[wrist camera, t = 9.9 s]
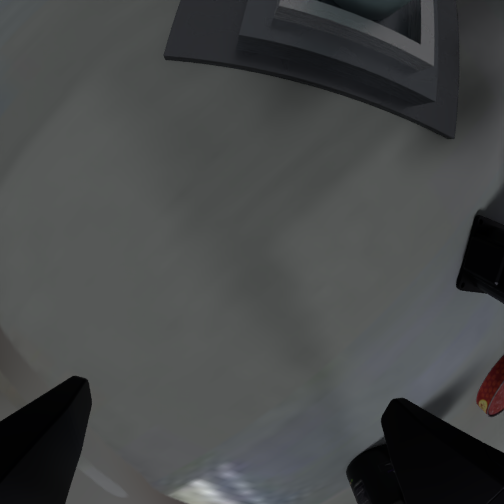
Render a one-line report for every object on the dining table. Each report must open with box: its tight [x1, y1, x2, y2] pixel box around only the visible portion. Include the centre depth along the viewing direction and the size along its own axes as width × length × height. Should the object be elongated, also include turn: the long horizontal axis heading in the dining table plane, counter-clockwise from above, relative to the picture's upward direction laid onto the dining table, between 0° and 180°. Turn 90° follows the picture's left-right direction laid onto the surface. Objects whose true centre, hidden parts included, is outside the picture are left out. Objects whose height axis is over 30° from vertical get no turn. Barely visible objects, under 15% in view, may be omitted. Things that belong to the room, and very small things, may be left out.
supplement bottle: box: [346, 445, 406, 504], centre depth 22 cm, size 7×7×12 cm
